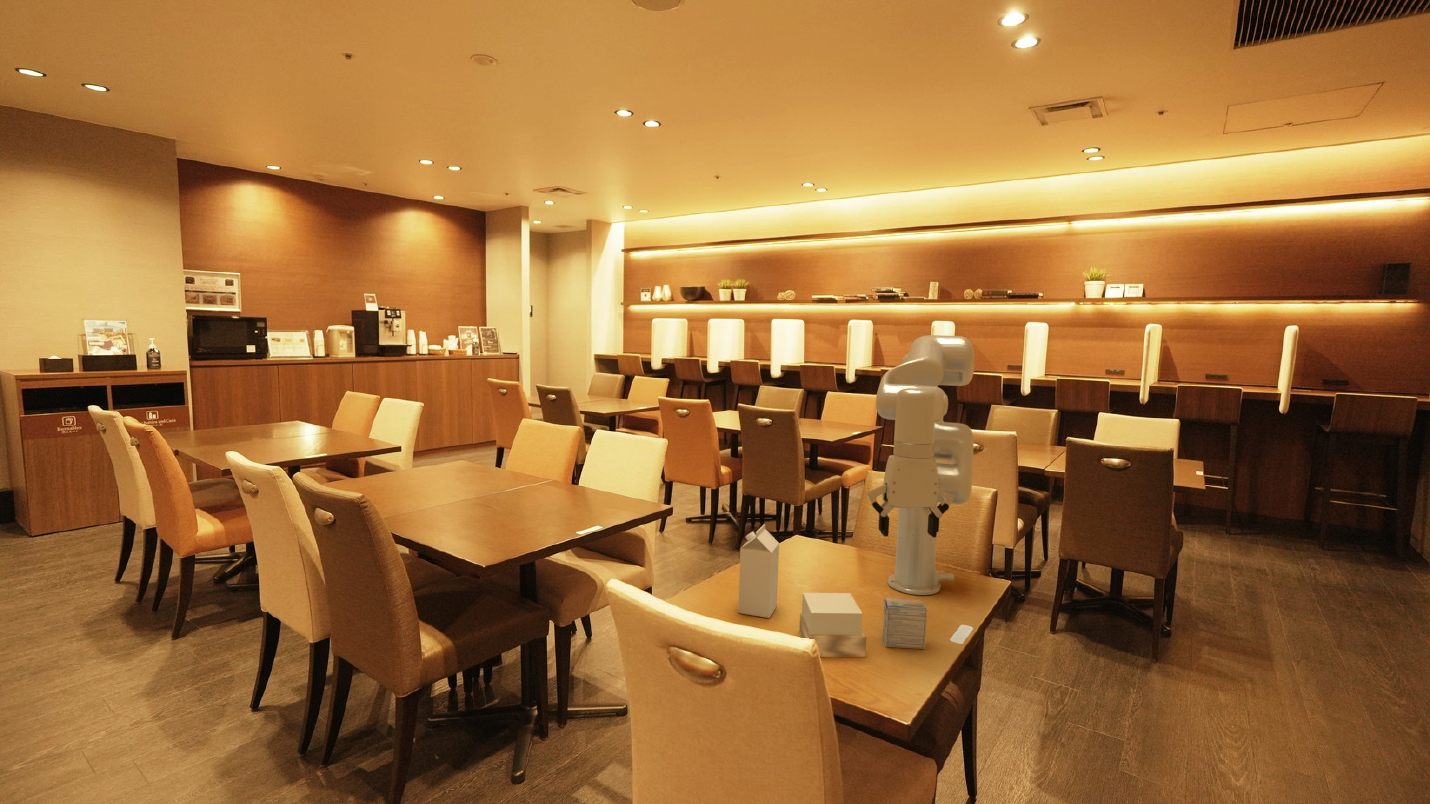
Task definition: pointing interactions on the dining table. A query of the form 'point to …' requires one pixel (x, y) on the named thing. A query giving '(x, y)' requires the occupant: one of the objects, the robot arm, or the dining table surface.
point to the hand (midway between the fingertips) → (908, 535)
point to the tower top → (831, 614)
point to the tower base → (836, 643)
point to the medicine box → (904, 623)
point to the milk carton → (758, 574)
